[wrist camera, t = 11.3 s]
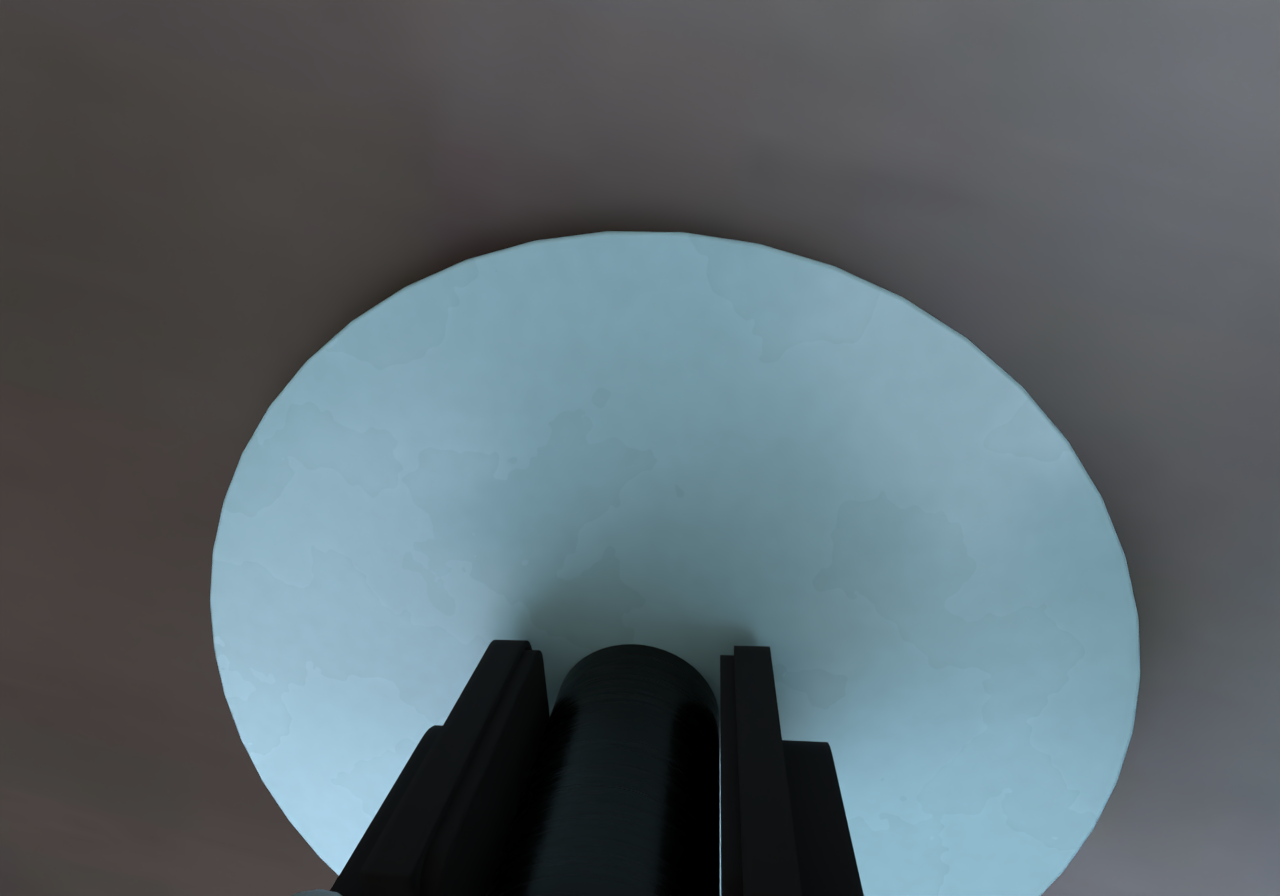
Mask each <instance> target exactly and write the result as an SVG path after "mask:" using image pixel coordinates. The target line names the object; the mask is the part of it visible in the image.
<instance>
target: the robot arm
mask: <svg viewBox="0 0 1280 896" xmlns="http://www.w3.org/2000/svg"><path fill="white" fill-rule="evenodd" d="M549 718H550V715H549V706H548V697H547V688H546V679H545V670H544V662H543V655H542V652H541V651H540V650H532V647H531V644H530V642H529V641H527V640H493V641H492V642H491V643H490V644H489V646H488V648H487V649H486V651H485V653H484V655H483V656H482V658H481V660H480V662H479V663H478V665H477V667H476V669H475V670H474V672H473V674H472V676H471V677H470V679H469V681H468V683H467V684H466V686H465V688H464V690H463V691H462V693H461V695H460V697H459V698H458V700H457V702H456V704H455V705H454V707H453V709H452V711H451V712H450V714H449V716H448V717H447V719H446V721H445V723H444V724H443V725H434V726H432V727H431V728H429V729H428V730H427V732H426V733H425V734H424V735H423V737H422V738H421V740H420V742H419V743H418V745H417V747H416V748H415V750H414V752H413V753H412V755H411V757H410V758H409V760H408V762H407V763H406V765H405V767H404V768H403V770H402V772H401V773H400V775H399V777H398V778H397V780H396V782H395V783H394V785H393V787H392V788H391V790H390V792H389V793H388V795H387V797H386V798H385V800H384V802H383V803H382V805H381V807H380V808H379V810H378V812H377V813H376V815H375V817H374V818H373V820H372V822H371V823H370V825H369V827H368V828H367V830H366V832H365V833H364V835H363V837H362V838H361V840H360V842H359V843H358V845H357V847H356V848H355V850H354V852H353V853H352V855H351V857H350V858H349V860H348V862H347V863H346V865H345V867H344V868H343V870H342V872H341V873H340V875H339V877H338V878H337V880H336V882H335V883H334V885H333V887H332V888H331V890H330V891H327V890H321V889H318V890H312V891H305V892H299V893H296V894H294V895H291V896H487V893H488V890H489V887H490V884H491V881H492V879H493V876H494V873H495V870H496V867H497V865H498V862H499V859H500V856H501V853H502V850H503V848H504V845H505V842H506V839H507V836H508V834H509V831H510V828H511V825H512V822H513V819H514V817H515V814H516V811H517V808H518V805H519V802H520V800H521V797H522V794H523V791H524V788H525V786H526V783H527V780H528V777H529V774H530V771H531V769H532V766H533V763H534V760H535V757H536V755H537V752H538V749H539V746H540V743H541V740H542V738H543V735H544V732H545V729H546V726H547V724H548V721H549ZM720 751H721V896H864V894H863V890H862V885H861V881H860V876H859V872H858V867H857V863H856V858H855V854H854V849H853V845H852V840H851V836H850V831H849V827H848V822H847V818H846V813H845V809H844V804H843V800H842V795H841V791H840V787H839V782H838V778H837V773H836V769H835V764H834V760H833V755H832V752H831V748H830V745H829V744H828V742H814V741H791V740H782V736H781V728H780V720H779V712H778V705H777V697H776V689H775V681H774V673H773V666H772V658H771V650H770V647H769V646H734V655H720Z"/></svg>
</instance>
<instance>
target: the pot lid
mask: <svg viewBox="0 0 1280 896" xmlns="http://www.w3.org/2000/svg"><path fill="white" fill-rule="evenodd" d="M210 606H211V618H212V629H213V640H214V650H215V654H216V659H217V663H218V667H219V672H220V676H221V681H222V685H223V689H224V694H225V697H226V700H227V702H228V705H229V708H230V711H231V713H232V716H233V719H234V721H235V724H236V727H237V729H238V732H239V735H240V738H241V740H242V742H243V744H244V746H245V748H246V750H247V752H248V754H249V756H250V757H251V759H252V761H253V763H254V765H255V767H256V769H257V771H258V773H259V775H260V777H261V779H262V781H263V782H264V784H265V785H266V787H267V788H268V790H269V791H270V793H271V794H272V796H273V797H274V799H275V800H276V802H277V803H278V805H279V806H280V808H281V809H282V811H283V812H284V814H285V815H286V817H287V818H288V820H289V821H290V822H291V823H292V825H293V826H294V827H295V828H296V829H297V831H298V832H299V833H300V834H301V835H302V837H303V838H304V839H305V840H306V841H307V843H308V844H309V845H310V846H311V847H312V849H313V850H314V851H315V852H316V853H317V854H318V856H319V857H320V858H321V859H322V860H323V861H324V862H325V863H326V864H327V865H328V866H329V867H330V868H331V869H333V870H334V871H335V872H336V873H337V874H338V875H340V873H341V872H342V870H343V868H344V867H345V865H346V863H347V862H348V860H349V858H350V857H351V855H352V853H353V852H354V850H355V848H356V847H357V845H358V843H359V842H360V840H361V838H362V837H363V835H364V833H365V832H366V830H367V828H368V827H369V825H370V823H371V822H372V820H373V818H374V817H375V815H376V813H377V812H378V810H379V808H380V807H381V805H382V803H383V802H384V800H385V798H386V797H387V795H388V793H389V792H390V790H391V788H392V787H393V785H394V783H395V782H396V780H397V778H398V777H399V775H400V773H401V772H402V770H403V768H404V767H405V765H406V763H407V762H408V760H409V758H410V757H411V755H412V753H413V752H414V750H415V748H416V747H417V745H418V743H419V742H420V740H421V738H422V737H423V735H424V734H425V733H426V732H427V730H428V729H429V728H431V727H432V726H434V725H443V724H444V723H445V721H446V719H447V717H448V716H449V714H450V712H451V711H452V709H453V707H454V705H455V704H456V702H457V700H458V698H459V697H460V695H461V693H462V691H463V690H464V688H465V686H466V684H467V683H468V681H469V679H470V677H471V676H472V674H473V672H474V670H475V669H476V667H477V665H478V663H479V662H480V660H481V658H482V656H483V655H484V653H485V651H486V649H487V648H488V646H489V644H490V643H491V642H492V641H493V640H527V641H529V642H530V644H531V647H532V650H540V651H541V652H542V655H543V662H544V670H545V679H546V688H547V697H548V706H549V715H550V718H549V721H548V724H547V726H546V729H545V732H544V735H543V738H542V740H541V743H540V746H539V749H538V752H537V755H536V757H535V760H534V763H533V766H532V769H531V771H530V774H529V777H528V780H527V783H526V786H525V788H524V791H523V794H522V797H521V800H520V802H519V805H518V808H517V811H516V814H515V817H514V819H513V822H512V825H511V828H510V831H509V834H508V836H507V839H506V842H505V845H504V848H503V850H502V853H501V856H500V859H499V862H498V865H497V867H496V870H495V873H494V876H493V879H492V881H491V884H490V887H489V890H488V893H487V896H721V751H720V655H734V646H769V647H770V650H771V658H772V666H773V673H774V681H775V689H776V697H777V705H778V712H779V720H780V728H781V736H782V740H791V741H814V742H828V744H829V745H830V748H831V752H832V755H833V760H834V764H835V769H836V773H837V778H838V782H839V787H840V791H841V795H842V800H843V804H844V809H845V813H846V818H847V822H848V827H849V831H850V836H851V840H852V845H853V849H854V854H855V858H856V863H857V867H858V872H859V876H860V881H861V885H862V890H863V894H864V896H1041V895H1042V894H1043V892H1044V891H1045V890H1046V889H1047V888H1048V887H1049V886H1050V885H1051V884H1052V883H1053V882H1054V881H1055V880H1056V879H1057V878H1058V877H1059V876H1060V875H1061V874H1062V873H1063V871H1064V870H1065V869H1066V867H1067V866H1068V864H1069V863H1070V862H1071V860H1072V859H1073V857H1074V856H1075V855H1076V853H1077V852H1078V850H1079V849H1080V848H1081V846H1082V845H1083V843H1084V842H1085V840H1086V839H1087V838H1088V836H1089V835H1090V833H1091V832H1092V831H1093V829H1094V827H1095V825H1096V823H1097V821H1098V819H1099V817H1100V815H1101V813H1102V811H1103V809H1104V807H1105V805H1106V803H1107V801H1108V799H1109V797H1110V795H1111V793H1112V791H1113V789H1114V787H1115V785H1116V783H1117V781H1118V777H1119V774H1120V771H1121V768H1122V765H1123V761H1124V758H1125V755H1126V752H1127V749H1128V745H1129V742H1130V739H1131V736H1132V733H1133V728H1134V720H1135V713H1136V706H1137V698H1138V691H1139V683H1140V676H1141V674H1140V647H1139V619H1138V613H1137V609H1136V604H1135V599H1134V594H1133V590H1132V585H1131V580H1130V575H1129V571H1128V566H1127V561H1126V557H1125V554H1124V552H1123V549H1122V547H1121V544H1120V542H1119V539H1118V537H1117V534H1116V532H1115V529H1114V527H1113V524H1112V521H1111V519H1110V516H1109V514H1108V511H1107V509H1106V506H1105V504H1104V501H1103V499H1102V497H1101V495H1100V493H1099V492H1098V490H1097V488H1096V487H1095V485H1094V483H1093V482H1092V480H1091V478H1090V477H1089V475H1088V473H1087V472H1086V470H1085V468H1084V467H1083V465H1082V463H1081V462H1080V460H1079V458H1078V457H1077V455H1076V453H1075V452H1074V450H1073V448H1072V447H1071V445H1070V443H1069V442H1068V440H1067V439H1066V438H1065V437H1064V435H1063V434H1062V433H1061V432H1060V431H1059V429H1058V428H1057V427H1056V426H1055V425H1054V424H1053V422H1052V421H1051V420H1050V419H1049V418H1048V416H1047V415H1046V414H1045V413H1044V412H1043V410H1042V409H1041V408H1040V407H1039V406H1038V405H1037V403H1036V402H1035V401H1034V400H1033V399H1032V397H1031V396H1030V395H1029V394H1028V393H1027V392H1026V390H1025V389H1024V388H1023V387H1022V386H1021V385H1020V384H1019V383H1018V382H1017V381H1015V380H1014V379H1013V378H1012V377H1011V376H1010V375H1009V374H1007V373H1006V372H1005V371H1004V370H1003V369H1002V368H1001V367H999V366H998V365H997V364H996V363H995V362H994V361H993V360H991V359H990V358H989V357H988V356H987V355H986V354H984V353H983V352H982V351H981V350H980V349H979V348H978V347H976V346H975V345H974V344H973V343H972V342H971V341H970V340H968V339H967V338H966V337H964V336H963V335H961V334H960V333H958V332H956V331H955V330H953V329H952V328H950V327H949V326H947V325H946V324H944V323H942V322H941V321H939V320H938V319H936V318H935V317H933V316H932V315H930V314H928V313H927V312H925V311H924V310H922V309H921V308H919V307H918V306H916V305H914V304H913V303H911V302H910V301H908V300H907V299H905V298H903V297H901V296H899V295H897V294H895V293H892V292H890V291H888V290H886V289H884V288H881V287H879V286H877V285H875V284H873V283H871V282H868V281H866V280H864V279H862V278H860V277H857V276H855V275H853V274H851V273H849V272H846V271H844V270H842V269H840V268H838V267H836V266H833V265H830V264H826V263H823V262H820V261H816V260H813V259H810V258H806V257H803V256H799V255H796V254H793V253H789V252H786V251H783V250H779V249H776V248H772V247H769V246H766V245H762V244H759V243H752V242H745V241H739V240H732V239H726V238H719V237H713V236H706V235H699V234H693V233H686V232H639V231H604V232H597V233H589V234H581V235H573V236H566V237H558V238H550V239H542V240H535V241H531V242H527V243H524V244H520V245H517V246H513V247H509V248H506V249H502V250H499V251H495V252H491V253H488V254H484V255H481V256H477V257H473V258H470V259H466V260H464V261H462V262H460V263H457V264H455V265H453V266H451V267H448V268H446V269H444V270H442V271H439V272H437V273H435V274H433V275H430V276H428V277H426V278H424V279H421V280H419V281H417V282H415V283H412V284H410V285H408V286H406V287H404V288H402V289H401V290H399V291H398V292H396V293H395V294H393V295H391V296H390V297H388V298H387V299H385V300H384V301H382V302H381V303H379V304H377V305H376V306H374V307H373V308H371V309H370V310H368V311H367V312H365V313H363V314H362V315H360V316H359V317H357V318H356V319H354V320H352V321H351V322H350V323H349V324H348V325H347V326H345V327H344V328H343V329H342V330H341V331H340V332H339V333H338V334H336V335H335V336H334V337H333V338H332V339H331V340H330V341H329V342H327V343H326V344H325V345H324V346H323V347H322V348H321V349H320V350H318V351H317V352H316V353H315V354H314V355H313V356H312V357H310V358H309V359H308V360H307V361H306V362H305V364H304V365H303V366H302V367H301V368H300V370H299V371H298V372H297V373H296V375H295V376H294V377H293V378H292V379H291V381H290V382H289V383H288V384H287V385H286V387H285V388H284V389H283V390H282V392H281V393H280V394H279V395H278V396H277V398H276V399H275V400H274V401H273V403H272V404H271V405H270V407H269V408H268V410H267V412H266V413H265V415H264V417H263V419H262V420H261V422H260V424H259V425H258V427H257V429H256V431H255V432H254V434H253V436H252V438H251V439H250V441H249V443H248V444H247V446H246V448H245V450H244V451H243V453H242V455H241V458H240V460H239V463H238V466H237V468H236V471H235V473H234V476H233V479H232V481H231V484H230V486H229V489H228V492H227V494H226V497H225V499H224V502H223V506H222V511H221V516H220V521H219V525H218V530H217V535H216V539H215V544H214V549H213V558H212V575H211V593H210Z"/></svg>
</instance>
